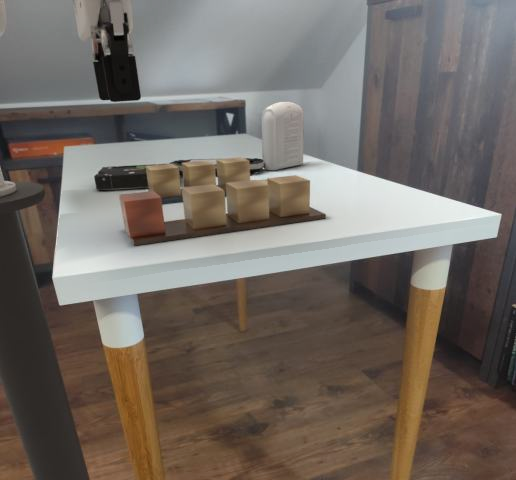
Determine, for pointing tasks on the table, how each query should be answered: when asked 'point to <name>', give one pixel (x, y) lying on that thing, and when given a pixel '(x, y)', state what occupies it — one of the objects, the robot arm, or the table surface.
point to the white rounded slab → (282, 135)
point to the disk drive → (123, 177)
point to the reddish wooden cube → (142, 214)
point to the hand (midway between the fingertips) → (119, 100)
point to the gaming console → (254, 164)
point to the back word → (195, 176)
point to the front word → (239, 208)
